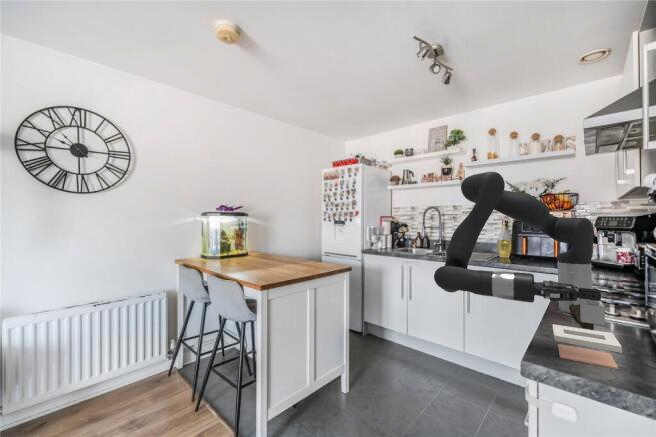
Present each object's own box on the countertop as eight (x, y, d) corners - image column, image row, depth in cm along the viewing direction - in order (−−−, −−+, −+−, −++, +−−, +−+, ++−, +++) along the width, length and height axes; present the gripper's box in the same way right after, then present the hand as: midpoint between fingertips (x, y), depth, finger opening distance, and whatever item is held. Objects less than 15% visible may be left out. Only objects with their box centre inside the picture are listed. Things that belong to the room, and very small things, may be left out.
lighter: (603, 322, 68) (602, 289, 68) (605, 325, 67) (604, 290, 67) (564, 317, 72) (564, 285, 72) (565, 319, 71) (564, 287, 71)
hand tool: (569, 314, 100) (568, 301, 100) (584, 316, 97) (584, 302, 97) (578, 333, 84) (577, 317, 84) (597, 336, 82) (596, 319, 82)
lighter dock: (552, 329, 86) (552, 324, 86) (612, 338, 79) (612, 333, 79) (554, 341, 78) (554, 335, 78) (621, 352, 71) (621, 346, 71)
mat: (557, 345, 76) (557, 343, 76) (610, 355, 70) (610, 353, 70) (560, 357, 69) (560, 356, 69) (618, 369, 63) (618, 367, 63)
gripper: (510, 276, 72) (605, 284, 62) (513, 268, 83) (594, 274, 73) (511, 306, 72) (606, 319, 62) (514, 294, 83) (595, 304, 73)
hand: (599, 295), depth 68 cm, fingers closed on lighter, 1 cm apart
